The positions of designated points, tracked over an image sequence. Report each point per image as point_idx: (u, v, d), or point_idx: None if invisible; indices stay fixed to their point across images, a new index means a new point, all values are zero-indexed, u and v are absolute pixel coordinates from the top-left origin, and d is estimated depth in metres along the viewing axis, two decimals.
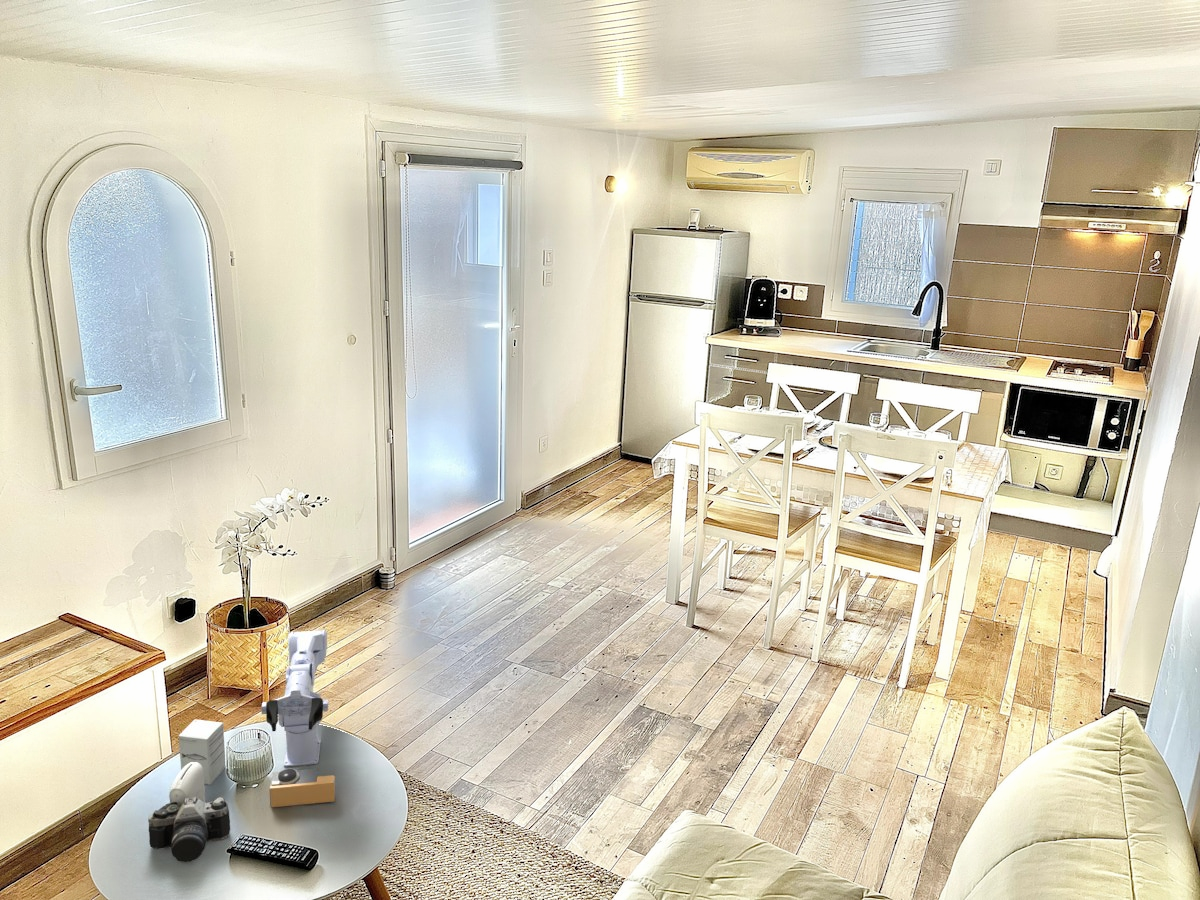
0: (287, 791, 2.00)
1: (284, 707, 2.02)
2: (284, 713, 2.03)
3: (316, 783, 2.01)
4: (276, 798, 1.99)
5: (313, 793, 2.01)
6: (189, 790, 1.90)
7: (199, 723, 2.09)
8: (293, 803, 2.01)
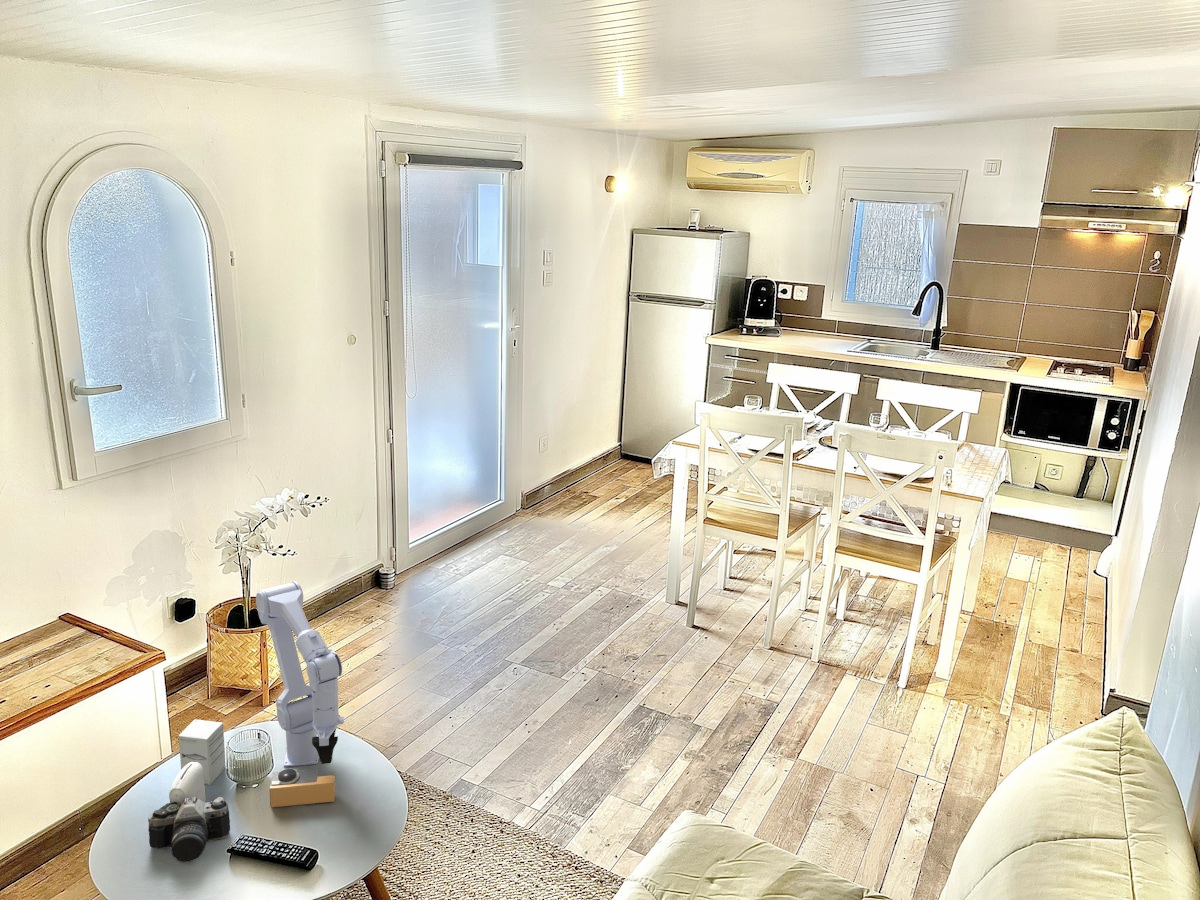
0: (287, 791, 2.00)
1: None
2: None
3: (316, 783, 2.01)
4: (276, 798, 1.99)
5: (313, 793, 2.01)
6: (189, 790, 1.90)
7: (199, 723, 2.09)
8: (293, 803, 2.01)
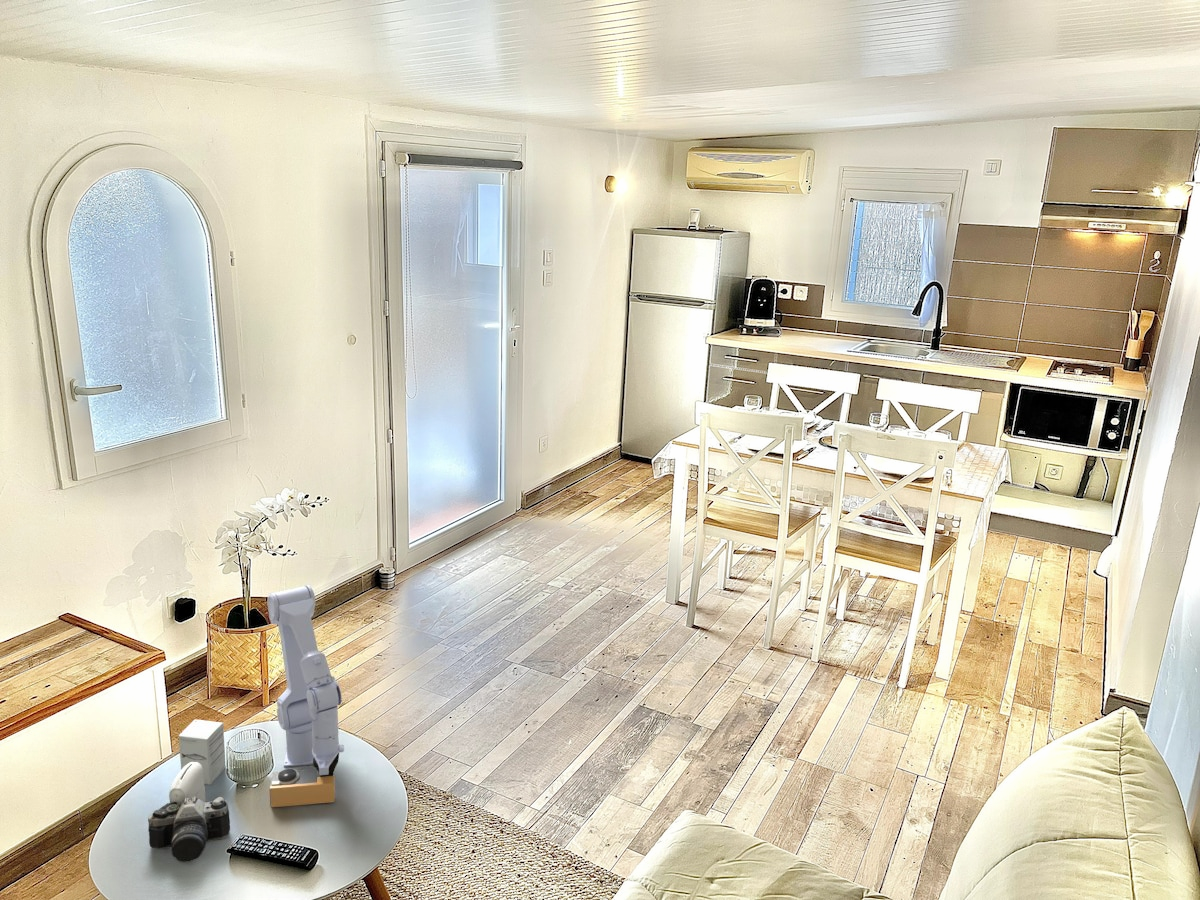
0: (287, 791, 2.00)
1: None
2: None
3: (316, 784, 2.01)
4: (276, 798, 1.99)
5: (313, 793, 2.01)
6: (189, 790, 1.90)
7: (199, 723, 2.09)
8: (293, 803, 2.01)
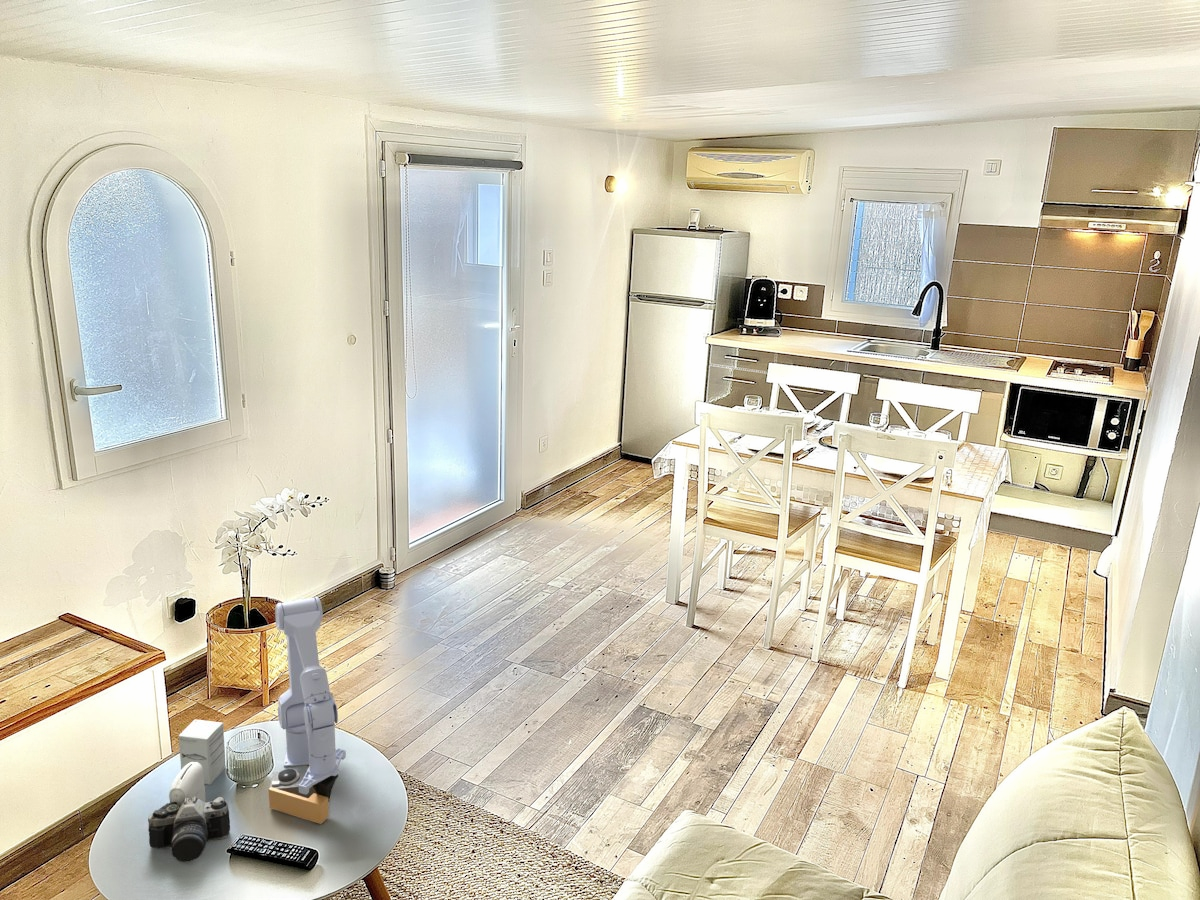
0: (282, 797, 1.97)
1: None
2: None
3: (306, 799, 1.95)
4: (273, 801, 1.99)
5: (303, 808, 1.96)
6: (189, 790, 1.90)
7: (199, 723, 2.09)
8: (287, 811, 1.98)
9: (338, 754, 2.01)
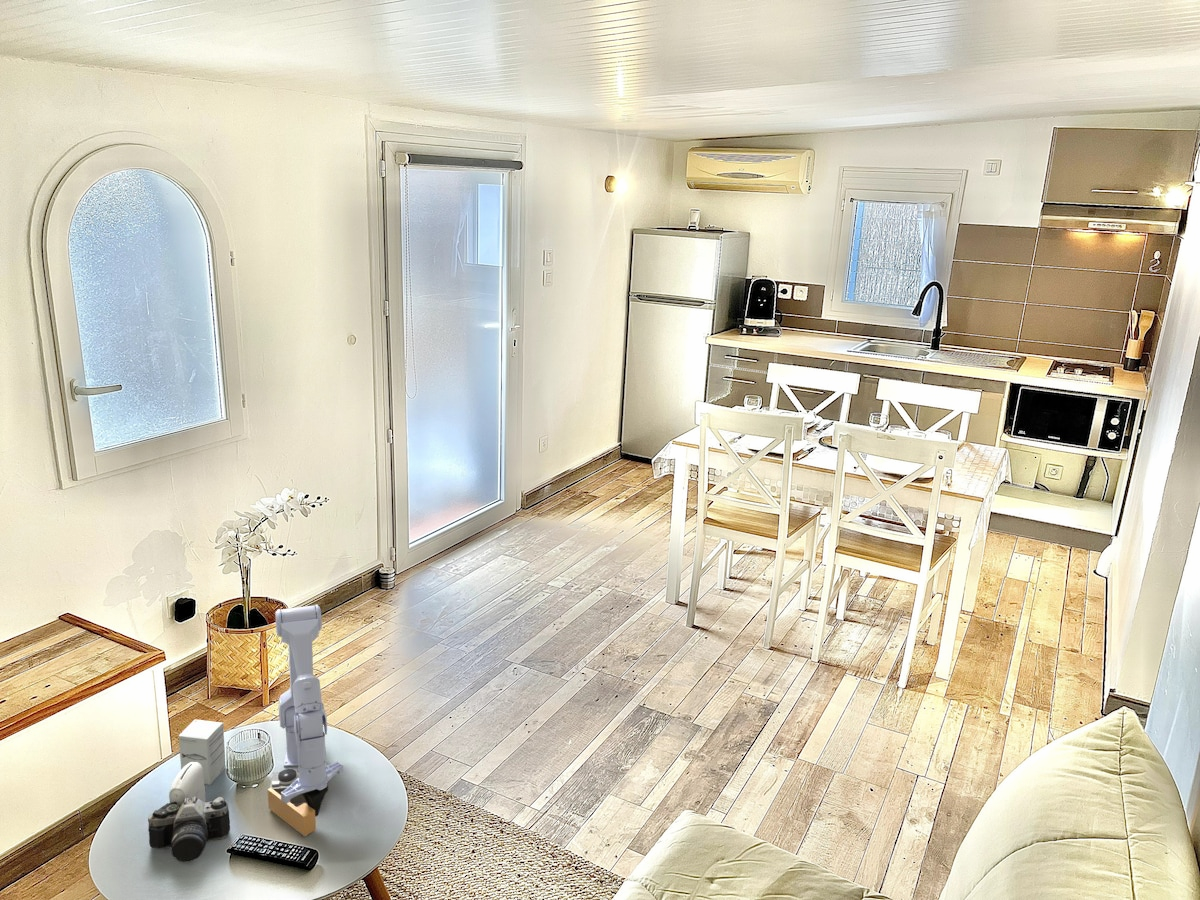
0: (277, 801, 1.96)
1: None
2: None
3: (294, 808, 1.93)
4: (271, 802, 1.98)
5: (292, 816, 1.93)
6: (189, 790, 1.90)
7: (199, 723, 2.09)
8: (280, 816, 1.97)
9: (334, 768, 1.97)
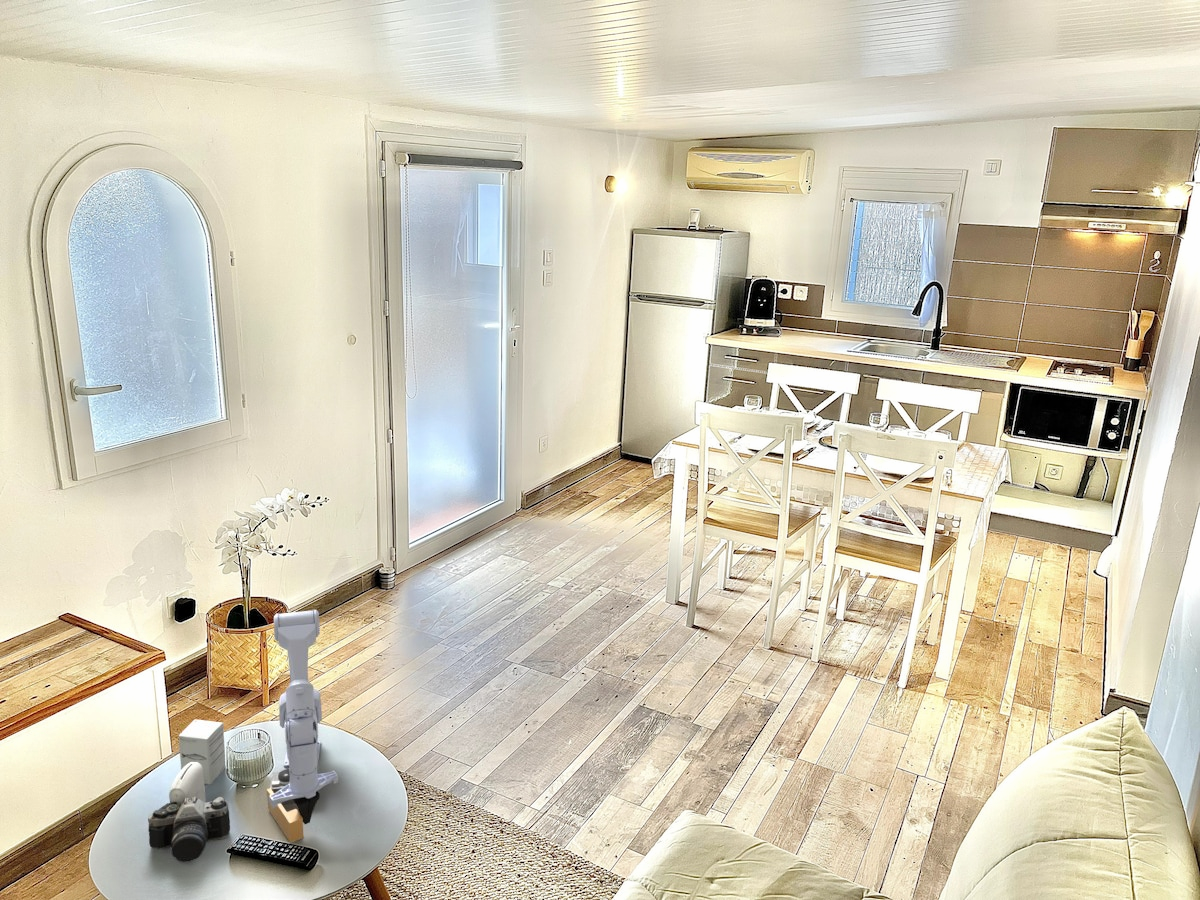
0: None
1: None
2: None
3: (284, 813, 1.91)
4: None
5: (282, 821, 1.92)
6: (189, 790, 1.90)
7: (199, 723, 2.09)
8: (275, 818, 1.96)
9: (329, 777, 1.94)
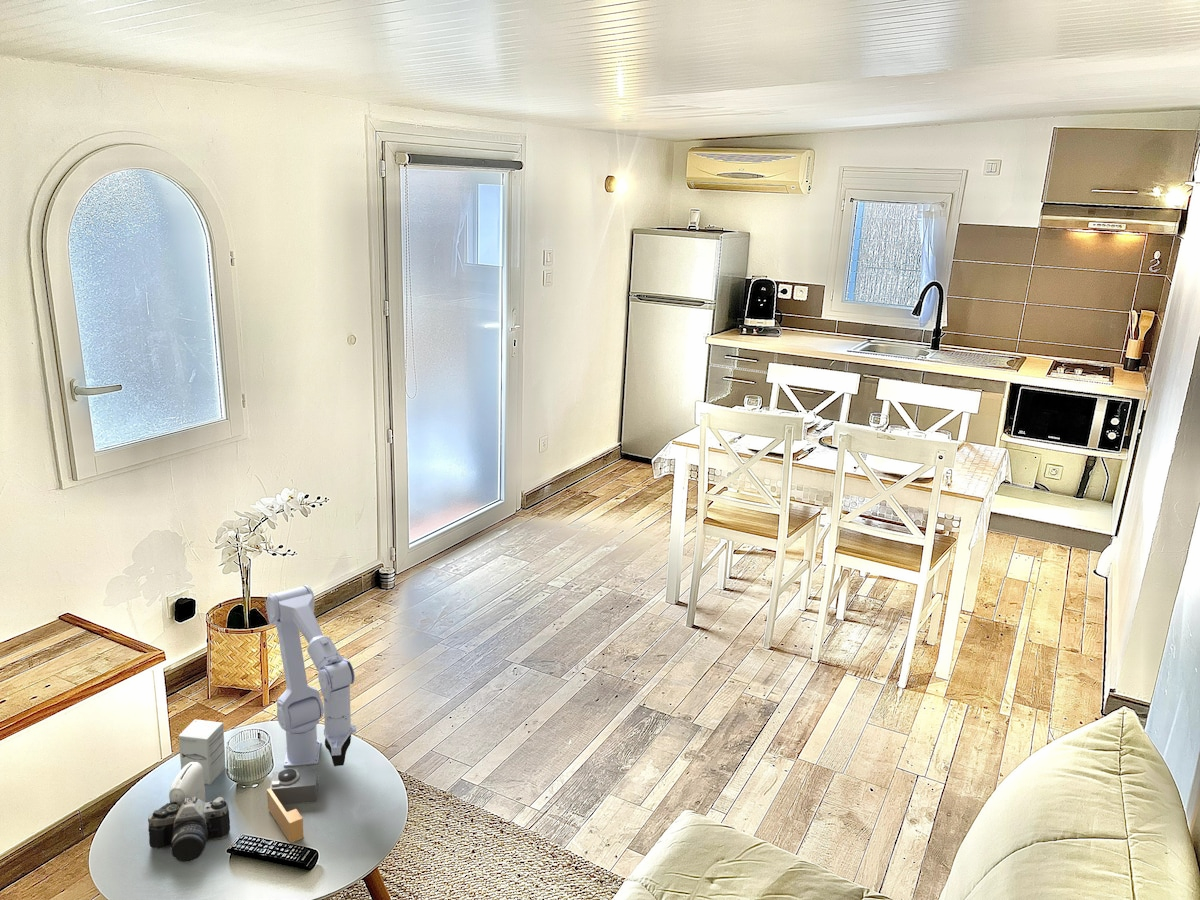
0: (273, 802, 1.96)
1: None
2: None
3: (284, 813, 1.91)
4: (269, 802, 1.98)
5: (282, 821, 1.92)
6: (189, 790, 1.90)
7: (199, 723, 2.09)
8: (275, 818, 1.96)
9: None
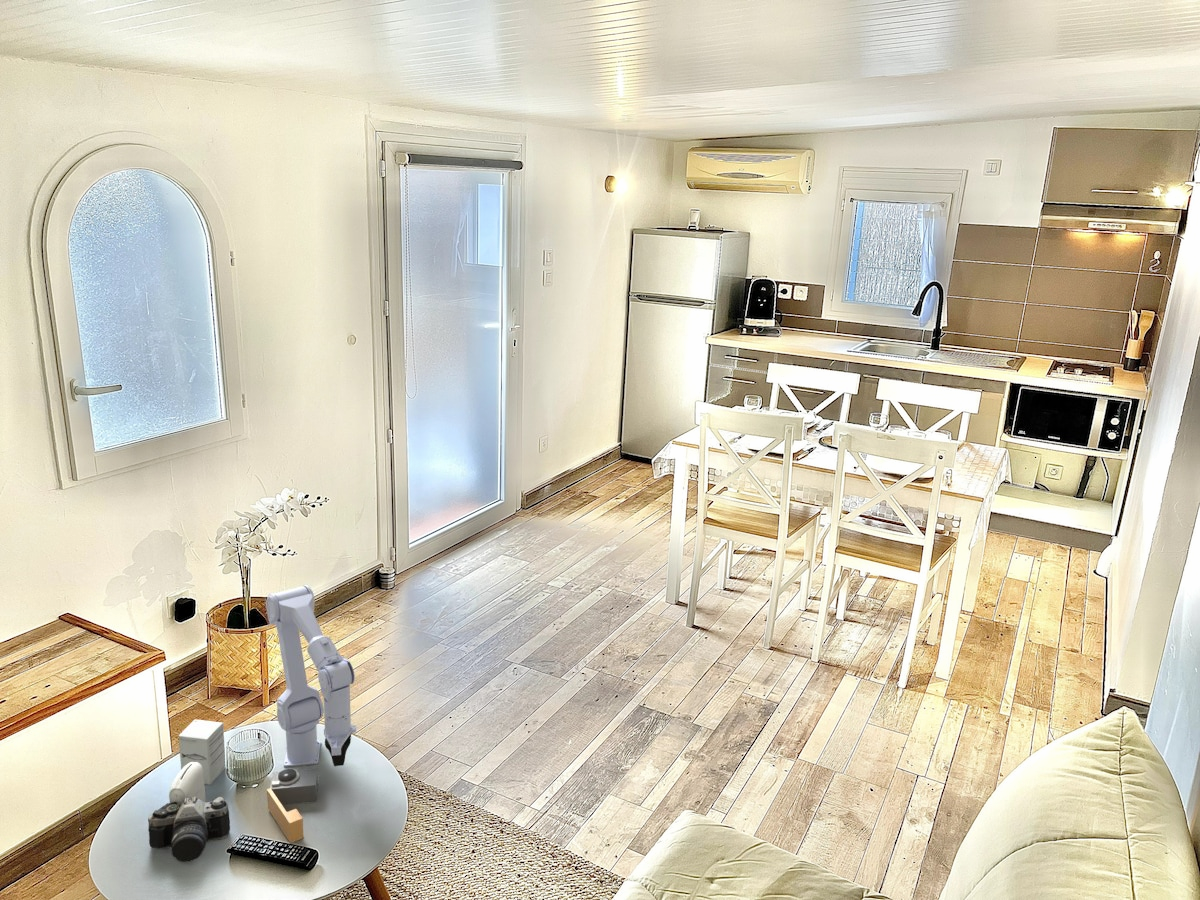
0: (273, 802, 1.96)
1: None
2: None
3: (284, 813, 1.91)
4: (269, 802, 1.98)
5: (282, 821, 1.92)
6: (189, 790, 1.90)
7: (199, 723, 2.09)
8: (275, 818, 1.96)
9: None
